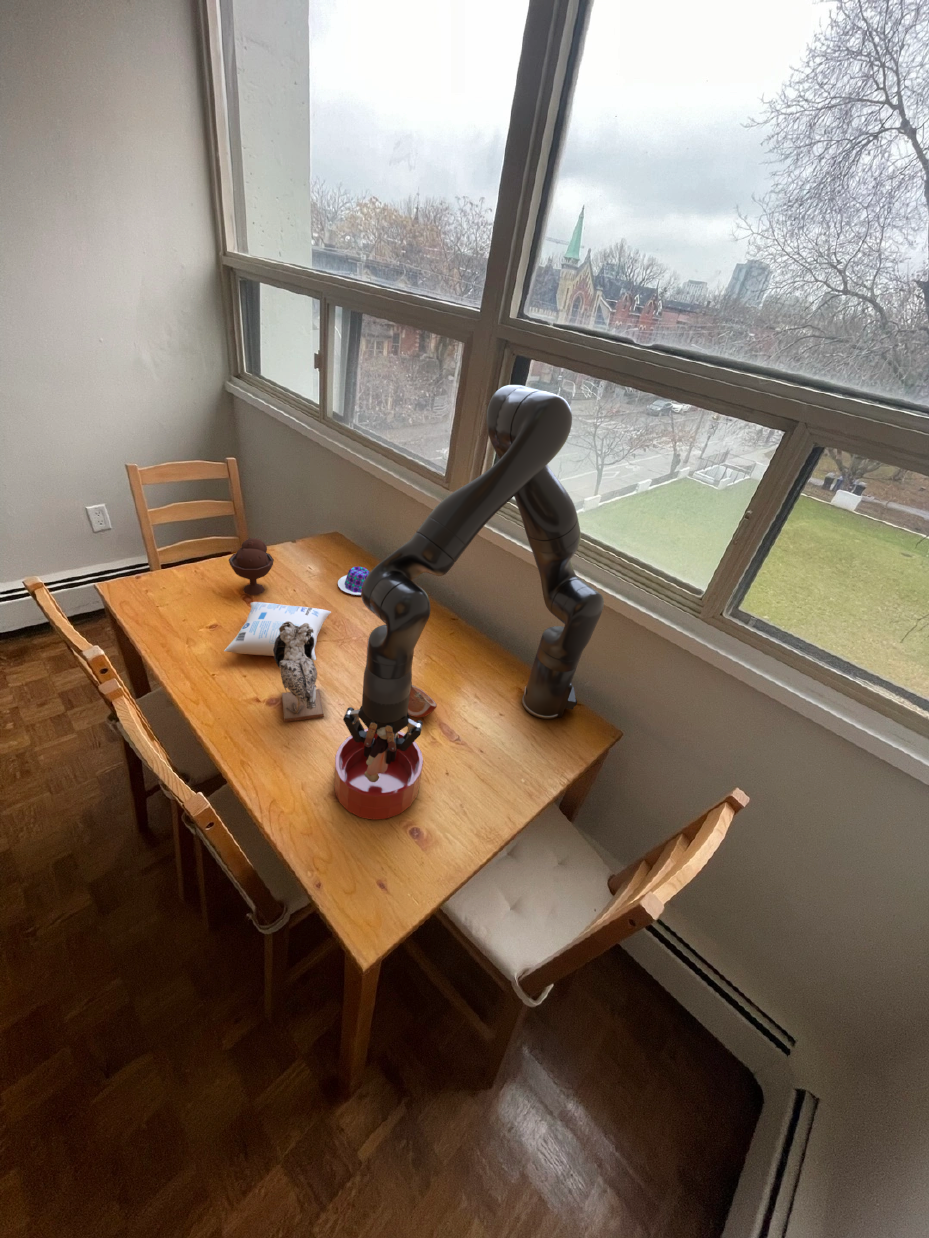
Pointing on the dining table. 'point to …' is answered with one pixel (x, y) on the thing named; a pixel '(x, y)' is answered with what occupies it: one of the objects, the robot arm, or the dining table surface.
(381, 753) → the grandmother figurine
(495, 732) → the dining table surface
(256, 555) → the ice cream bowl
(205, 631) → the dining table surface
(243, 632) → the pouch
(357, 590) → the pudding
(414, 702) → the fruit slice
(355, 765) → the red bowl
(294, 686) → the stuffed bird
